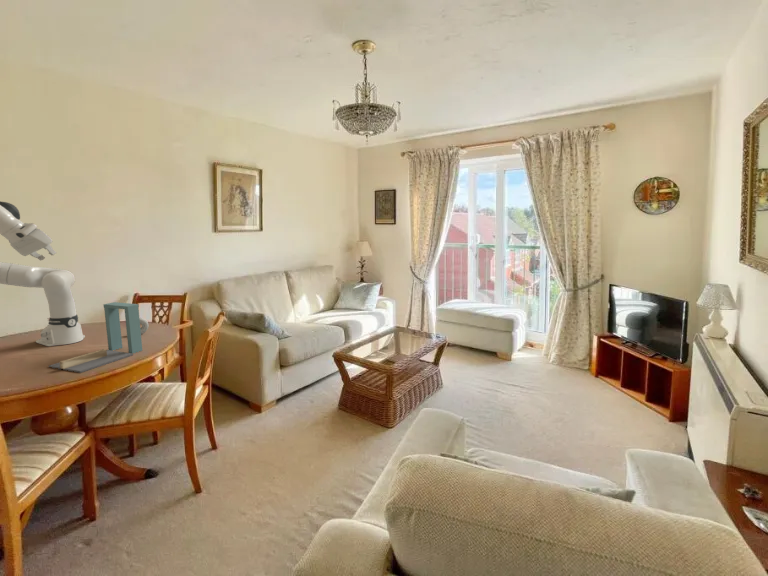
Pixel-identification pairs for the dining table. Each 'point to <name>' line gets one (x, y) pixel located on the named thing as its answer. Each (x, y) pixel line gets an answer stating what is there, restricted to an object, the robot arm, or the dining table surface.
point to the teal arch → (131, 326)
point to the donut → (144, 325)
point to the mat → (96, 361)
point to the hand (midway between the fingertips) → (48, 256)
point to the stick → (83, 359)
